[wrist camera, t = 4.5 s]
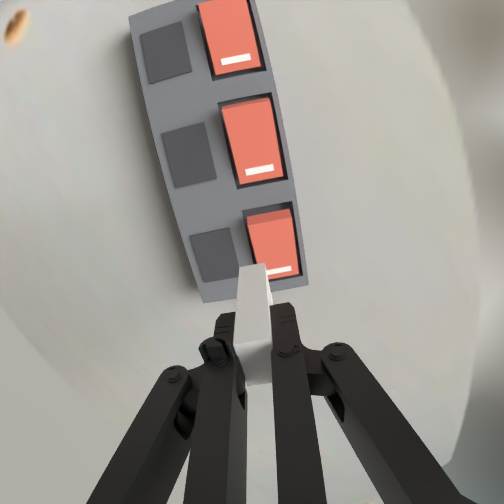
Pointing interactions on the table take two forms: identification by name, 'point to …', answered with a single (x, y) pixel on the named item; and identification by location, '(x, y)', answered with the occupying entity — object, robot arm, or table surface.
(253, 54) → the rocker
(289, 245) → the rocker
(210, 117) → the power strip
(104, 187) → the table surface
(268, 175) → the rocker
